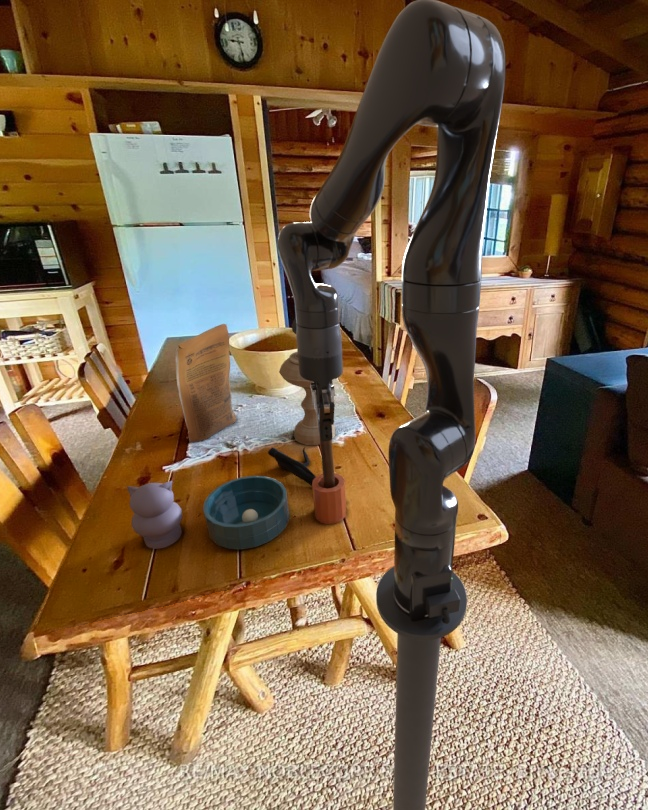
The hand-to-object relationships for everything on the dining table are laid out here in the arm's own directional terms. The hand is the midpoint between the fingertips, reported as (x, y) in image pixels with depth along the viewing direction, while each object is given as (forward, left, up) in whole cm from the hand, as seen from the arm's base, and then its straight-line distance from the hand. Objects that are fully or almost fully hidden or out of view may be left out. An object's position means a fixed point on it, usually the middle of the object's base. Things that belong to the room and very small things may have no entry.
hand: (325, 435), depth 82 cm
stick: (0, 0, -15) cm, 15 cm away
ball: (0, +16, -17) cm, 23 cm away
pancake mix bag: (+42, +26, -19) cm, 53 cm away
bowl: (+1, +16, -19) cm, 25 cm away
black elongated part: (+14, +1, -19) cm, 24 cm away
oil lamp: (+33, 0, -19) cm, 38 cm away
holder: (0, 0, -19) cm, 19 cm away
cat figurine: (+1, +32, -19) cm, 37 cm away
